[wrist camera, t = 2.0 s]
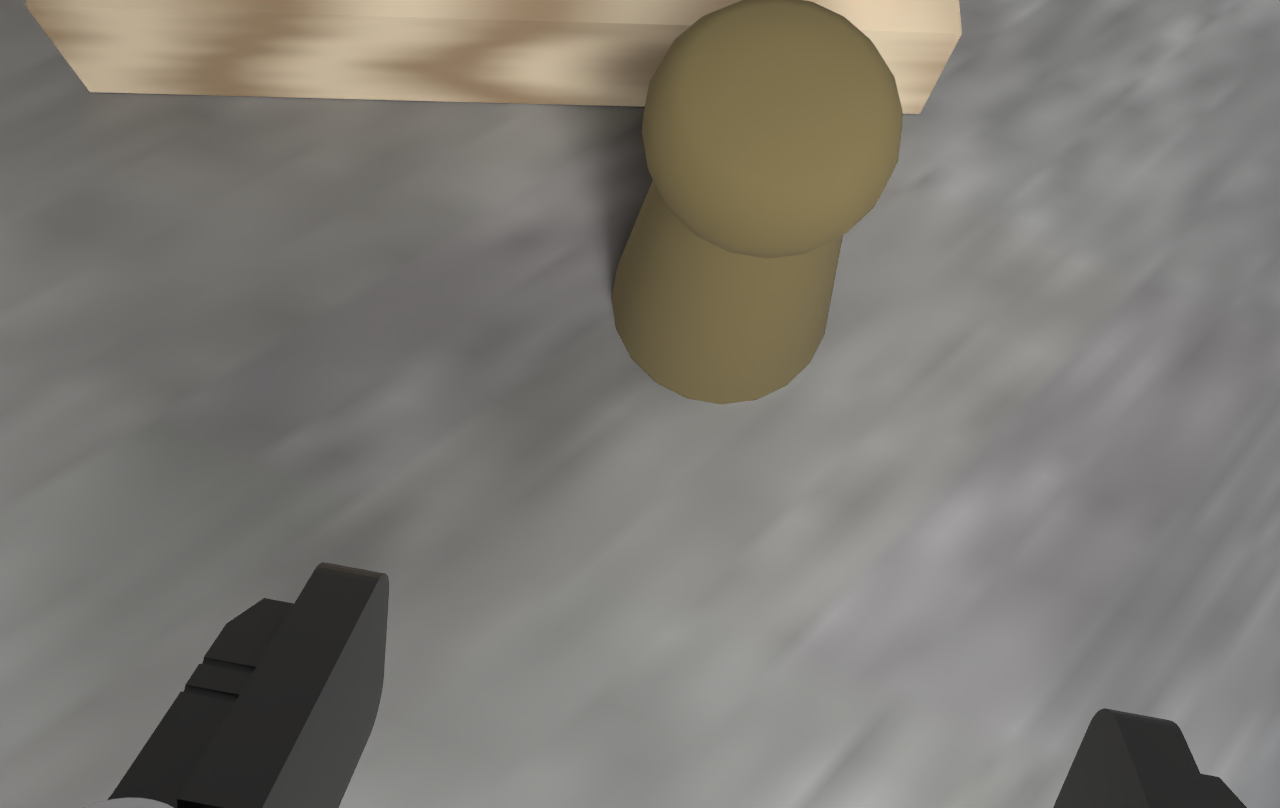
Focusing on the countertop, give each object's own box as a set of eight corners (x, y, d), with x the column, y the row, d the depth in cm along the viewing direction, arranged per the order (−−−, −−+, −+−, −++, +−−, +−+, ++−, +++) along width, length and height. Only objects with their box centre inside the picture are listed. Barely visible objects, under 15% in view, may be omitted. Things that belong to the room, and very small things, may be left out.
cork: (695, 162, 34) (746, -109, 23) (869, 281, 33) (1004, 56, 22) (567, 318, 32) (558, 104, 21) (746, 447, 31) (829, 290, 21)
